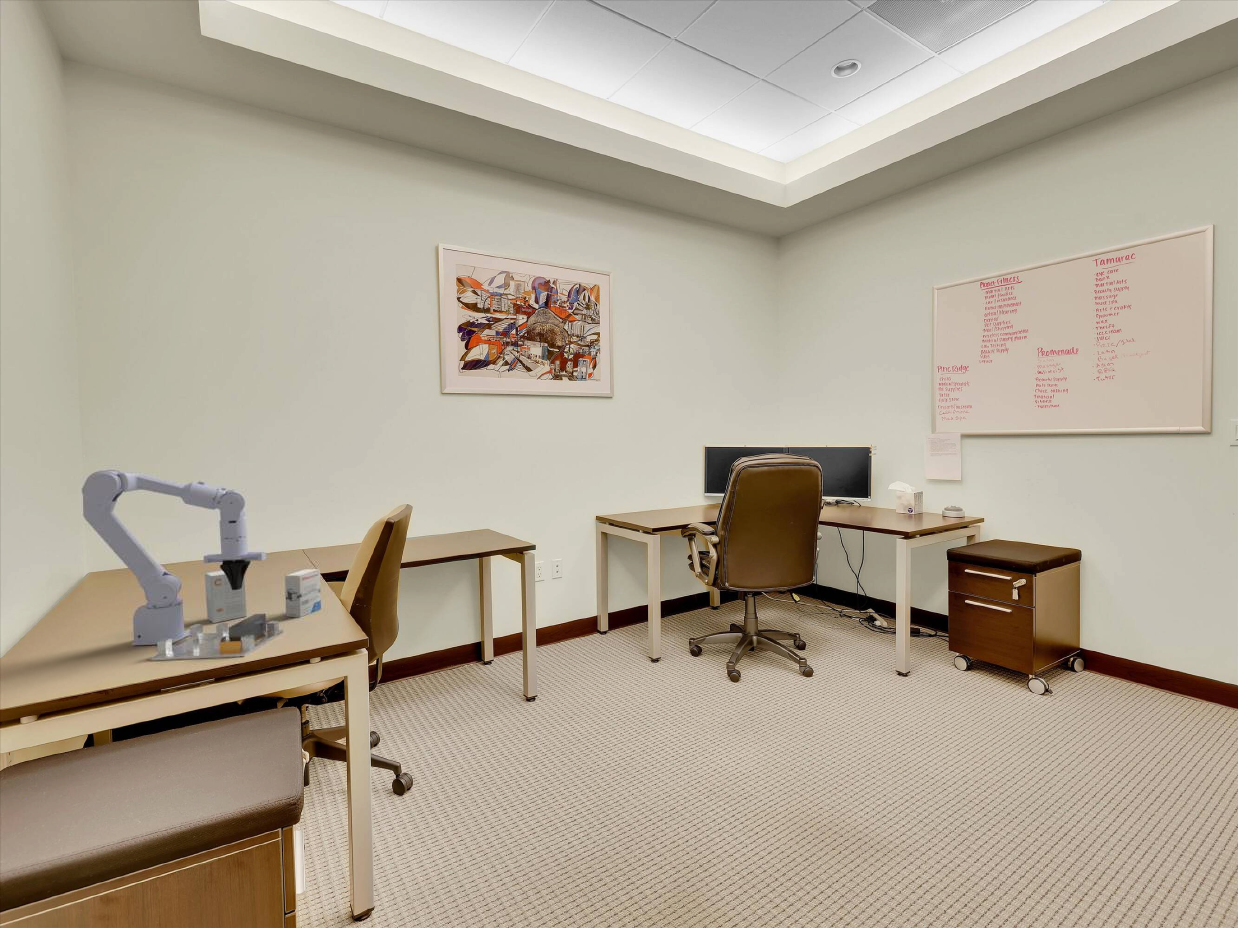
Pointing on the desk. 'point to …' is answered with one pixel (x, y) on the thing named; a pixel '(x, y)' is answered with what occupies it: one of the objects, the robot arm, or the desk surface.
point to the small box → (223, 598)
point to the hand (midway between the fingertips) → (236, 589)
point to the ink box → (302, 592)
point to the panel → (249, 628)
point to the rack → (214, 644)
